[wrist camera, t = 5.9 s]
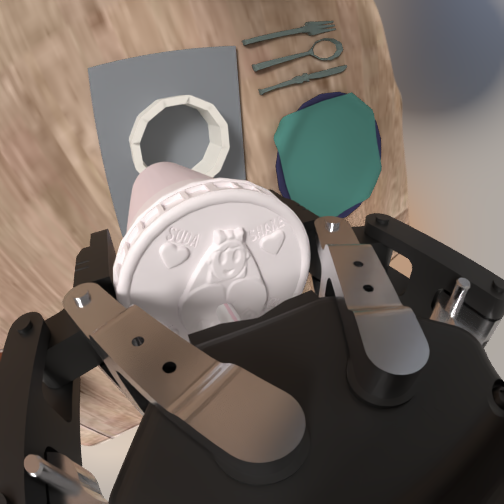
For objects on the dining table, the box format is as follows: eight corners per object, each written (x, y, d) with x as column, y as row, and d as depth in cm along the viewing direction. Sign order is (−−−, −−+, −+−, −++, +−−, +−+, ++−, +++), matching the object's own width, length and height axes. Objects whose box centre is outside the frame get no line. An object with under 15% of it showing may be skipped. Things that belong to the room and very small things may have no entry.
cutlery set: (289, 242, 45) (298, 249, 43) (222, 41, 27) (229, 37, 25) (378, 188, 49) (388, 192, 47) (345, 18, 31) (356, 16, 29)
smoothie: (113, 249, 16) (170, 495, 6) (106, 141, 13) (100, 339, 2) (212, 237, 19) (358, 420, 8) (220, 137, 16) (452, 254, 5)
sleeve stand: (88, 68, 22) (84, 63, 18) (233, 46, 27) (251, 40, 24) (123, 237, 33) (126, 256, 29) (245, 203, 38) (262, 216, 35)
